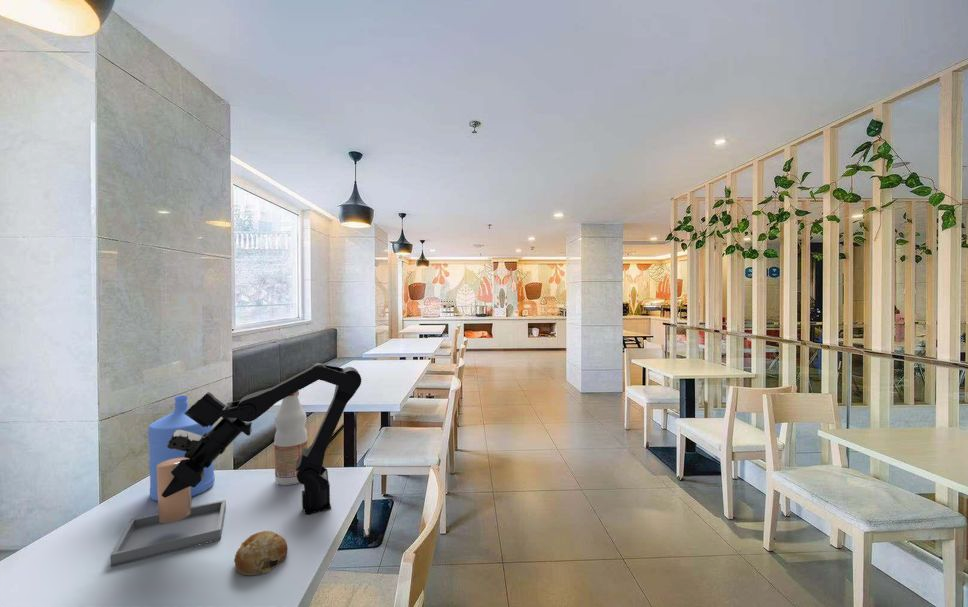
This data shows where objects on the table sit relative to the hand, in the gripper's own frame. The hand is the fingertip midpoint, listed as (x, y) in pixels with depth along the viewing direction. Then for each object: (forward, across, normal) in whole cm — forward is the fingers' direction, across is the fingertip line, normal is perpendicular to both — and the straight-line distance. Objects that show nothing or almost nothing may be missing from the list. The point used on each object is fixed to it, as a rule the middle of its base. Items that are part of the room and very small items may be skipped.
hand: (167, 490), depth 100 cm
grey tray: (+7, 0, +9) cm, 11 cm away
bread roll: (-7, +20, +23) cm, 31 cm away
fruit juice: (-10, -21, +27) cm, 36 cm away
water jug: (+10, -27, +6) cm, 29 cm away
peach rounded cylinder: (+4, 0, +6) cm, 7 cm away
